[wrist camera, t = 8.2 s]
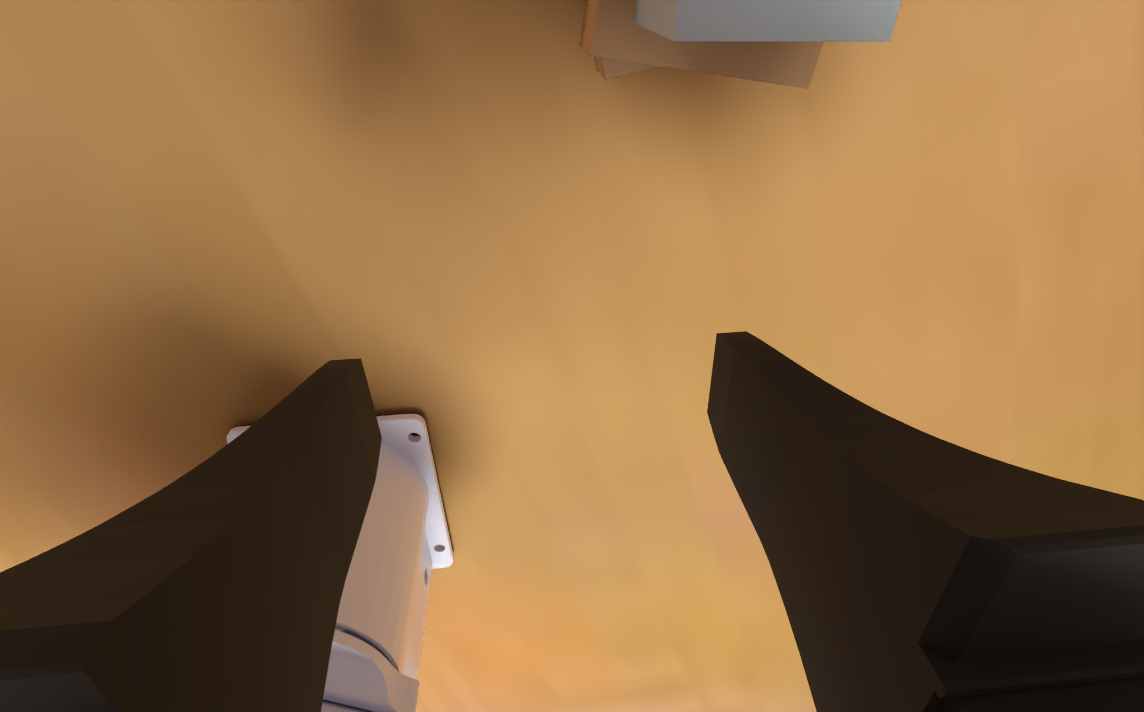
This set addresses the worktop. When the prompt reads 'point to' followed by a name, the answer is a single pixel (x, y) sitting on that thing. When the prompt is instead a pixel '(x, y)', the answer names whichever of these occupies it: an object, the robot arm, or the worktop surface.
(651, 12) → the gray cube
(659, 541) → the worktop surface
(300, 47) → the worktop surface
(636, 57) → the slab top
